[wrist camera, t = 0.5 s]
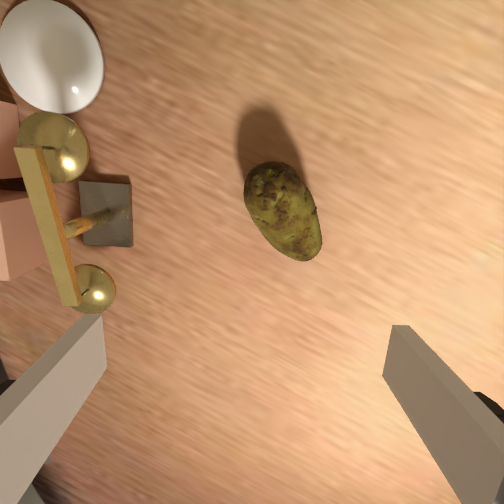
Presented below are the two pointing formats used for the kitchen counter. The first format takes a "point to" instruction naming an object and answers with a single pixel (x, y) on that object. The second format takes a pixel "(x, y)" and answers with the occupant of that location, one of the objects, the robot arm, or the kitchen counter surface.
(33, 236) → the peach pink cube
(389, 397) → the kitchen counter surface
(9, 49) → the dish
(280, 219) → the potato
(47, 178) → the balance
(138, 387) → the kitchen counter surface
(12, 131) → the tan cardboard-like box
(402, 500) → the kitchen counter surface
